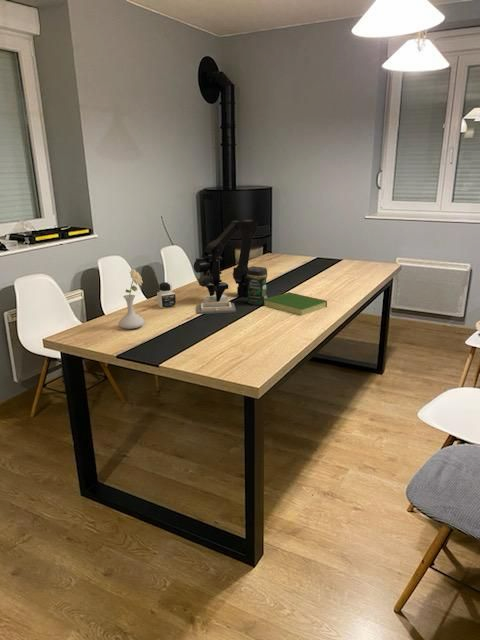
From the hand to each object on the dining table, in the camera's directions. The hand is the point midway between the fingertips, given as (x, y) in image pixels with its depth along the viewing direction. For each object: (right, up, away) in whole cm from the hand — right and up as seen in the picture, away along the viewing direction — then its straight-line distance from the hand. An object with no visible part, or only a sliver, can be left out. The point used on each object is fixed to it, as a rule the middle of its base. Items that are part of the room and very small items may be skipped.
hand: (215, 300), depth 245 cm
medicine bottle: (-24, -4, -5) cm, 24 cm away
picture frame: (0, -1, 0) cm, 1 cm away
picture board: (+1, -5, -12) cm, 13 cm away
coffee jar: (+21, -2, -3) cm, 22 cm away
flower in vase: (-34, -13, -34) cm, 50 cm away
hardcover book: (+39, -4, -9) cm, 40 cm away
